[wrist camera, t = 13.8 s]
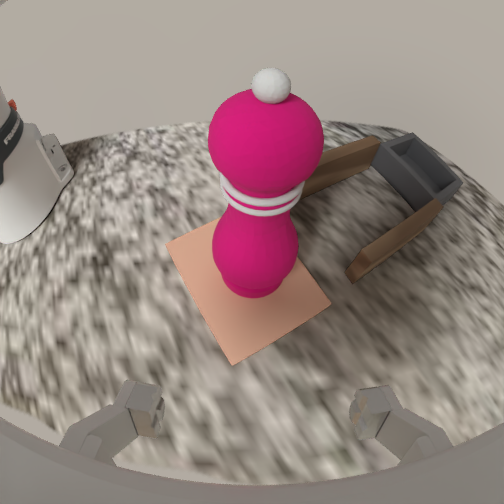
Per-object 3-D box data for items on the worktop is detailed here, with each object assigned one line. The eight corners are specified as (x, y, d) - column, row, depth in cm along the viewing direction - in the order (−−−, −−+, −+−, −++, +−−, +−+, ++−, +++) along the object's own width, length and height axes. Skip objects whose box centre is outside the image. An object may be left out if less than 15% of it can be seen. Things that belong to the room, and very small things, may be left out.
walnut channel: (282, 195, 33) (288, 165, 29) (361, 161, 37) (372, 135, 33) (352, 283, 28) (371, 262, 24) (424, 229, 32) (443, 207, 28)
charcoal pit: (370, 164, 37) (380, 144, 33) (403, 150, 39) (412, 132, 36) (423, 220, 33) (437, 202, 29) (450, 198, 35) (463, 182, 32)
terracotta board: (166, 246, 29) (165, 244, 29) (254, 203, 32) (255, 201, 32) (232, 366, 24) (232, 365, 24) (330, 305, 27) (331, 303, 27)
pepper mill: (238, 317, 26) (238, 133, 8) (203, 255, 28) (166, 61, 11) (303, 281, 28) (387, 98, 10) (264, 226, 30) (290, 39, 13)
